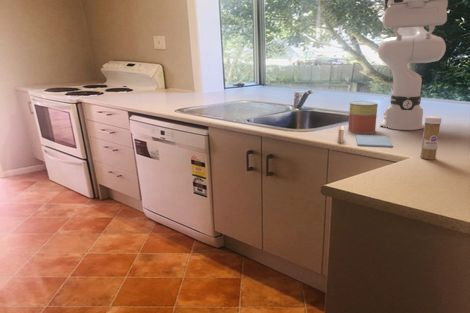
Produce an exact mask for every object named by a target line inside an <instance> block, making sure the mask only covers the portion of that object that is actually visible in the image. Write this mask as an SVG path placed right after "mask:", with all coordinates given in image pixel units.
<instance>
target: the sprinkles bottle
mask: <svg viewBox="0 0 470 313" xmlns="http://www.w3.org/2000/svg"><path fill="white" fill-rule="evenodd" d="M441 123H442V117H441V116H438V115H437V116H436V115H427V116H425V117H424V125H425V127H424V128H423V132H422V134H423V135H422V141H421V152H420V156H419V157H420V158H421V159H424V160H435V159H437V149H438V145H439V136H440V129H441Z"/></svg>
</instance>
